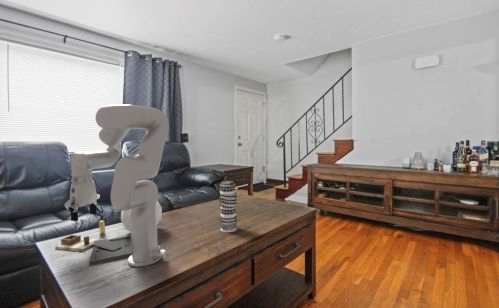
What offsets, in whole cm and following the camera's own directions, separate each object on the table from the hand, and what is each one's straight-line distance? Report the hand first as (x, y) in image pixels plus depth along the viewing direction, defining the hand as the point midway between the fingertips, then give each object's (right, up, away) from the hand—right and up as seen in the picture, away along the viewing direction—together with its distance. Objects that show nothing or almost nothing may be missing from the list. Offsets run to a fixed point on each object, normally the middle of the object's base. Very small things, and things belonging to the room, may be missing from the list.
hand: (84, 217), depth 113 cm
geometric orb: (+19, -12, +17) cm, 28 cm away
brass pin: (0, -12, +14) cm, 19 cm away
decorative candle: (+63, -11, +18) cm, 67 cm away
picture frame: (+15, -14, -4) cm, 21 cm away
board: (-3, -13, +2) cm, 14 cm away
